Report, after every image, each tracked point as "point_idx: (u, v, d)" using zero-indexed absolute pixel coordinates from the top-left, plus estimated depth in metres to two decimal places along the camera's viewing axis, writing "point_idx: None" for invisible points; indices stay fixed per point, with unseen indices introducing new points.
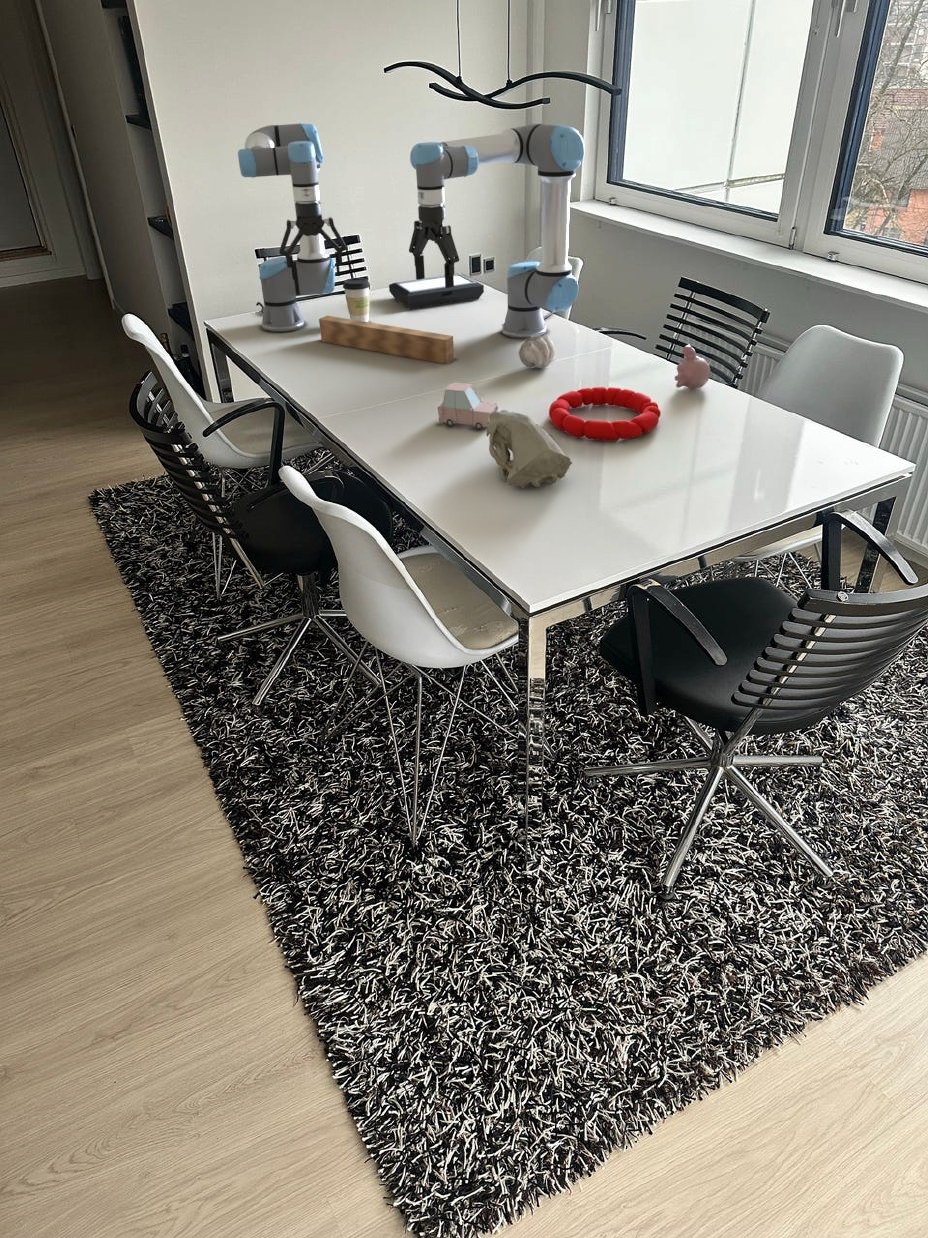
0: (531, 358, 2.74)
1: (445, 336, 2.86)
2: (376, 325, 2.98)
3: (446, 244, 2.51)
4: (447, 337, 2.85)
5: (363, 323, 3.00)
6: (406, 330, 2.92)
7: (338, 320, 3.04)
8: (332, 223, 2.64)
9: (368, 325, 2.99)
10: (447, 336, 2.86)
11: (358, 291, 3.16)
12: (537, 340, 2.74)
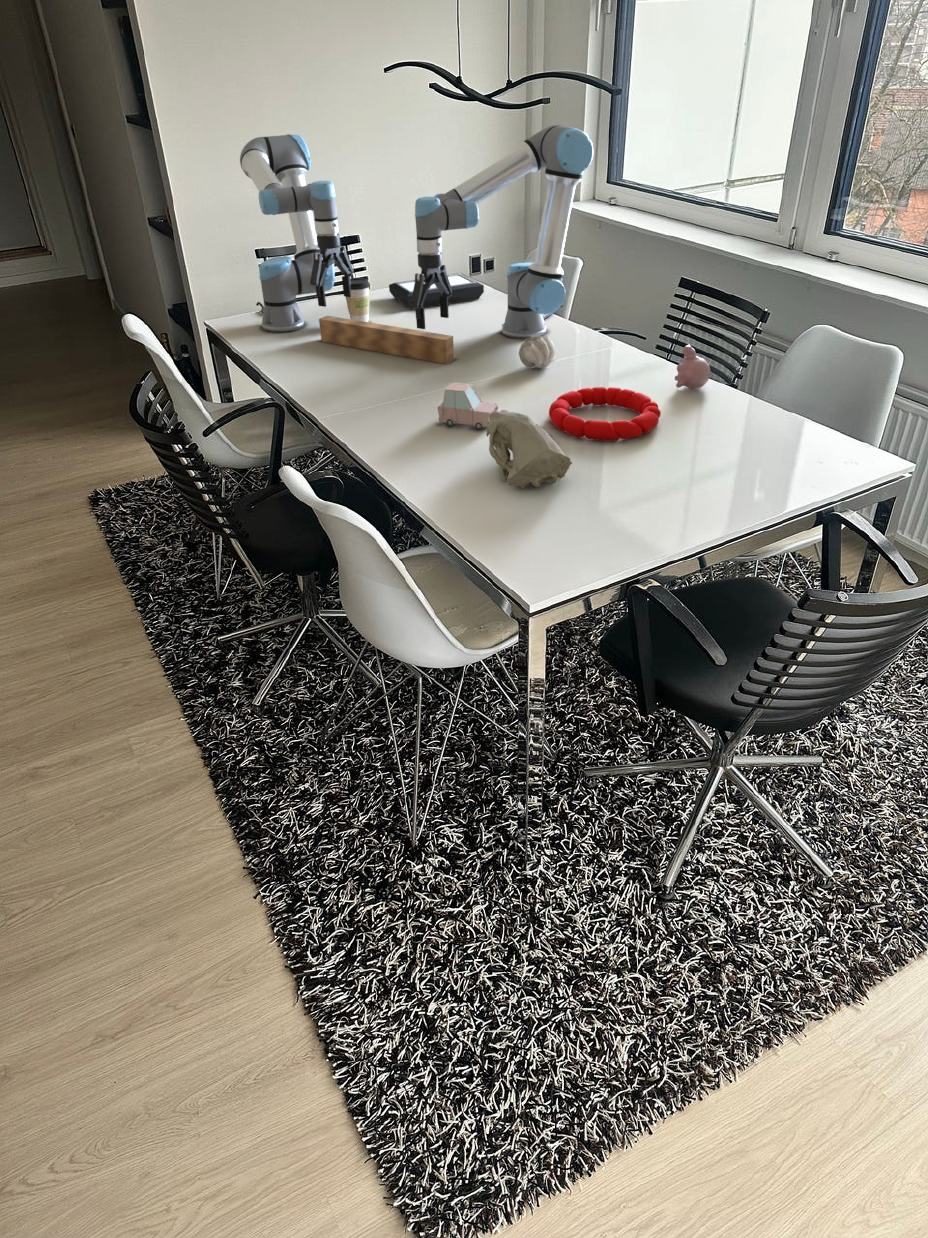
0: (531, 358, 2.74)
1: (445, 336, 2.86)
2: (376, 325, 2.98)
3: (447, 279, 2.83)
4: (447, 337, 2.85)
5: (363, 323, 3.00)
6: (406, 330, 2.92)
7: (338, 320, 3.04)
8: (345, 250, 2.97)
9: (368, 325, 2.99)
10: (447, 336, 2.86)
11: (358, 291, 3.16)
12: (537, 340, 2.74)
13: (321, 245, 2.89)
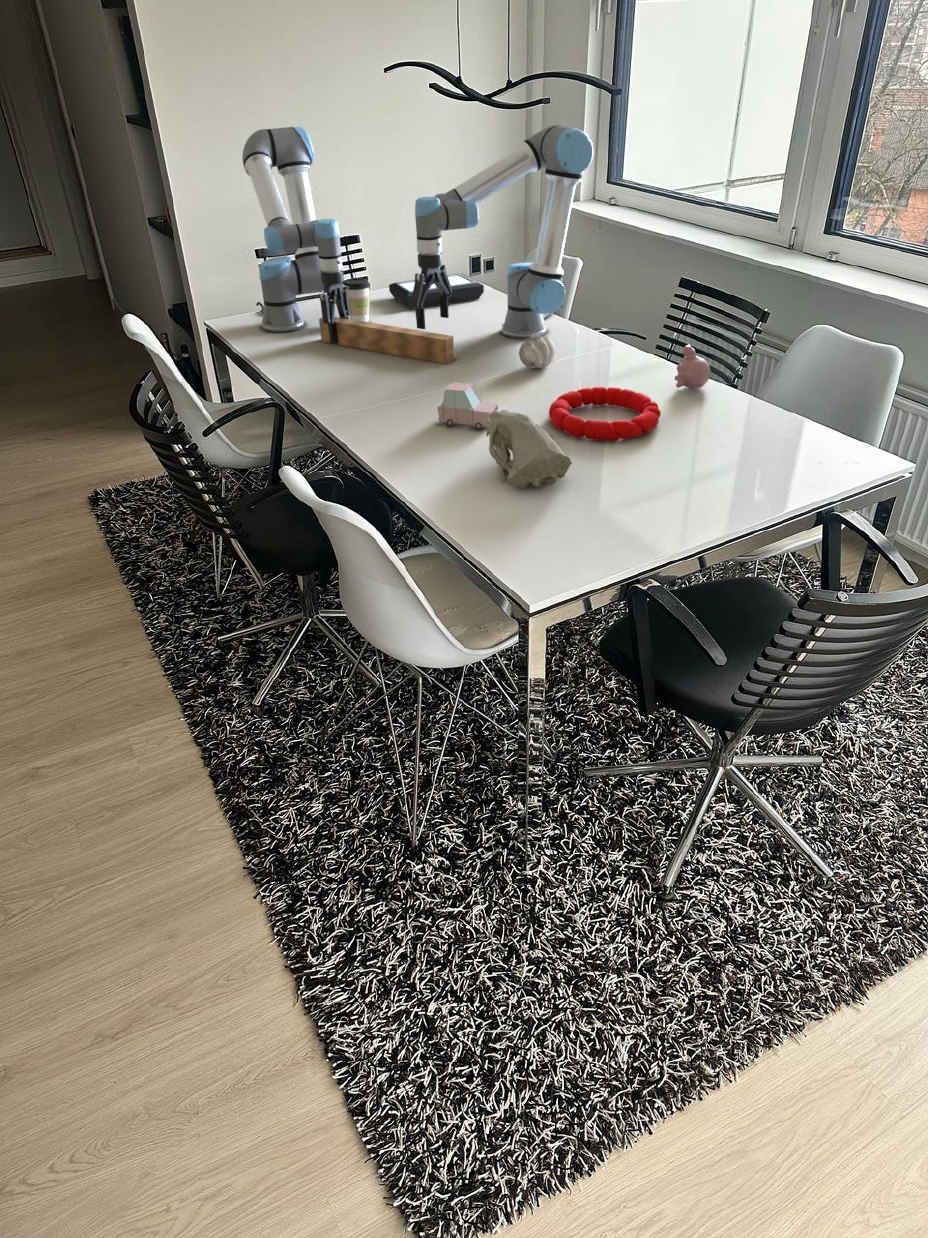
0: (531, 358, 2.74)
1: (445, 336, 2.86)
2: (376, 325, 2.98)
3: (447, 279, 2.83)
4: (447, 337, 2.85)
5: (363, 323, 3.00)
6: (406, 330, 2.92)
7: (338, 320, 3.04)
8: (347, 290, 3.04)
9: (368, 325, 2.99)
10: (447, 336, 2.86)
11: (358, 291, 3.16)
12: (537, 340, 2.74)
13: (325, 281, 2.95)
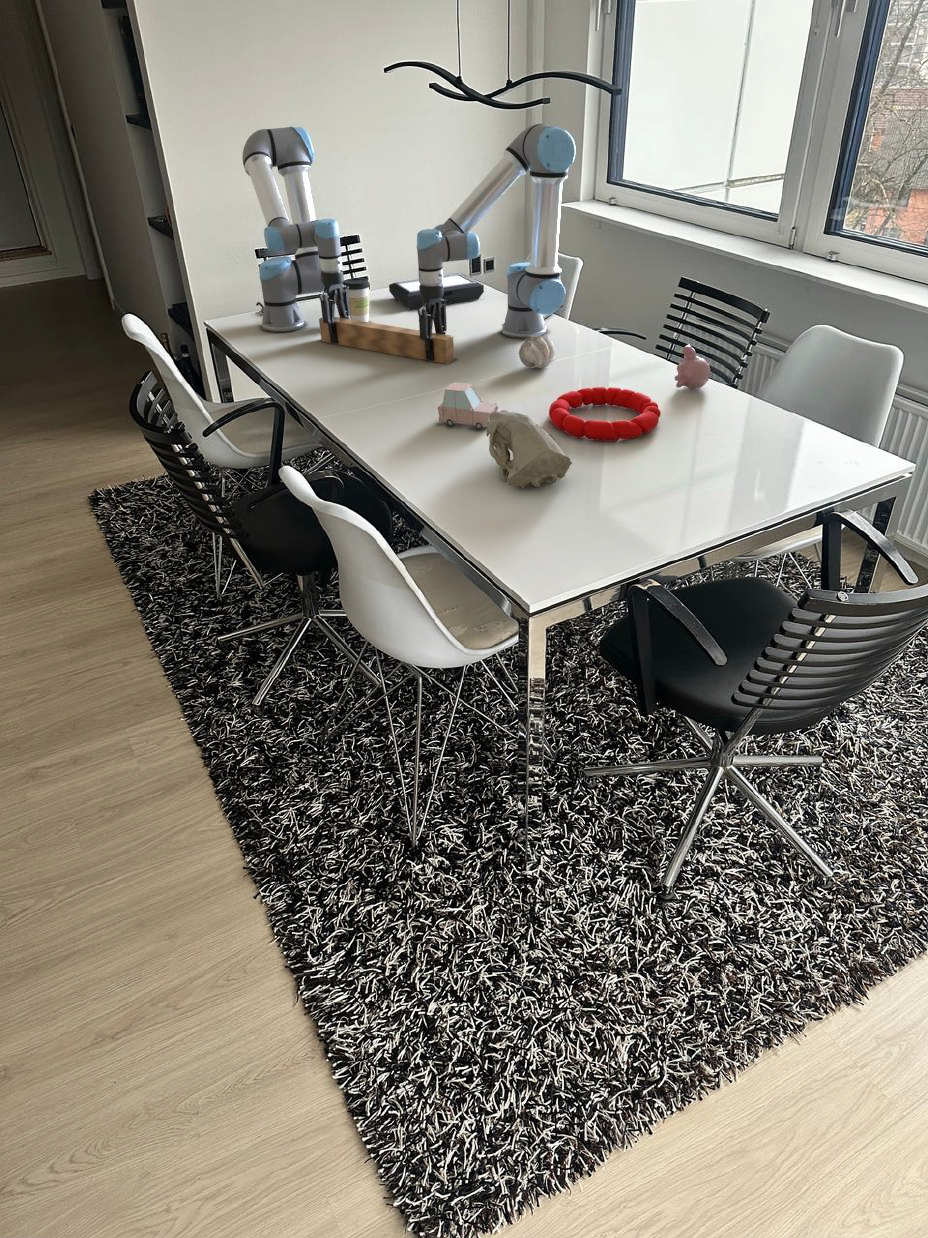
0: (531, 358, 2.74)
1: (445, 336, 2.86)
2: (376, 325, 2.98)
3: (445, 315, 2.88)
4: (447, 337, 2.85)
5: (363, 323, 3.00)
6: (406, 330, 2.92)
7: (338, 320, 3.04)
8: (347, 290, 3.04)
9: (368, 325, 2.99)
10: (447, 336, 2.86)
11: (358, 291, 3.16)
12: (537, 340, 2.74)
13: (325, 281, 2.95)
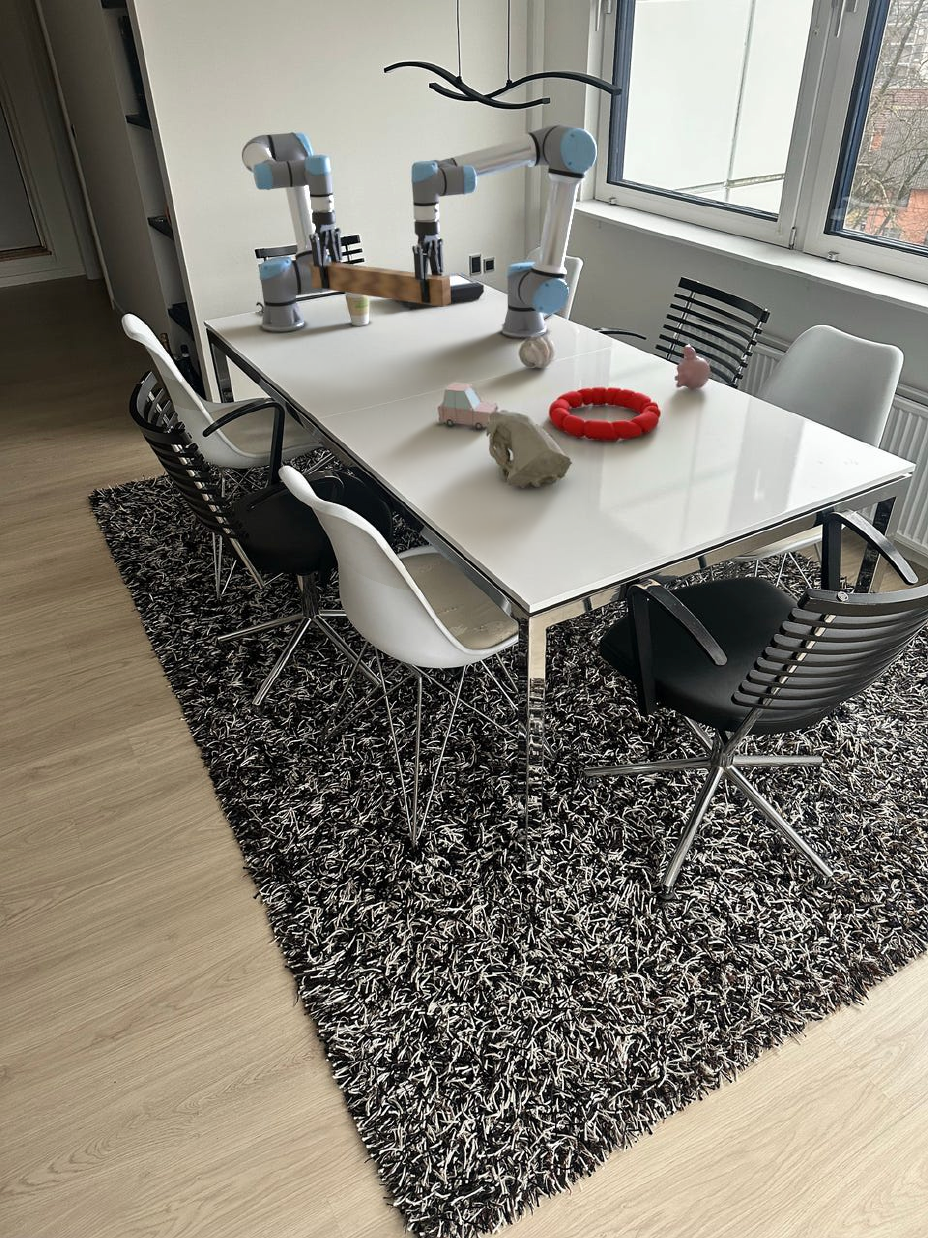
0: (531, 358, 2.74)
1: (442, 277, 2.73)
2: (369, 268, 2.84)
3: (441, 255, 2.74)
4: (444, 278, 2.72)
5: (356, 266, 2.87)
6: (400, 272, 2.79)
7: (330, 264, 2.91)
8: (339, 233, 2.91)
9: (361, 268, 2.85)
10: (444, 277, 2.73)
11: None
12: (537, 340, 2.74)
13: (316, 221, 2.82)
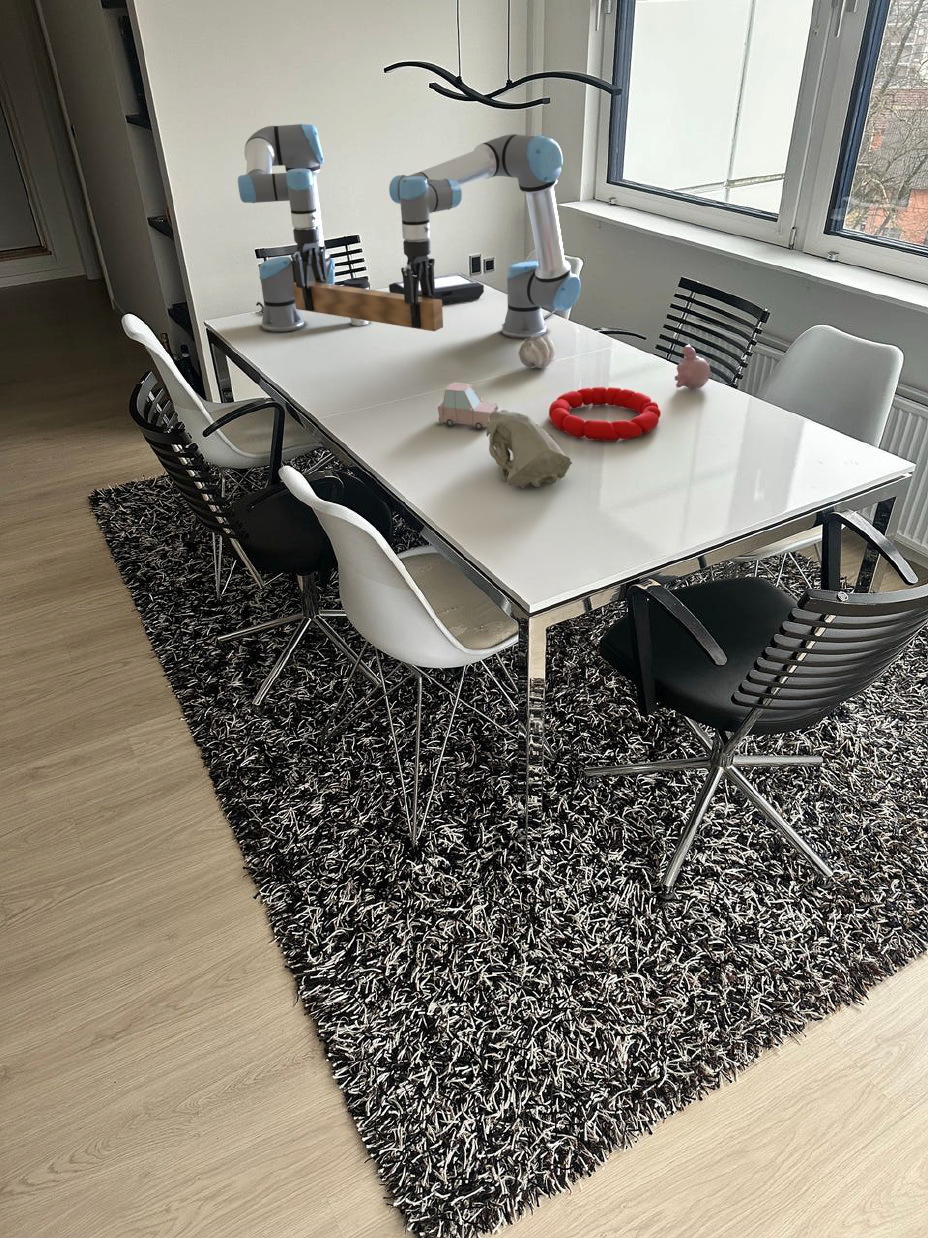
0: (531, 358, 2.74)
1: (433, 299, 2.54)
2: (355, 289, 2.65)
3: (433, 276, 2.55)
4: (435, 301, 2.52)
5: (342, 287, 2.68)
6: (389, 294, 2.60)
7: (314, 284, 2.72)
8: (324, 251, 2.71)
9: (347, 289, 2.66)
10: (435, 300, 2.53)
11: None
12: (537, 340, 2.74)
13: (298, 240, 2.62)
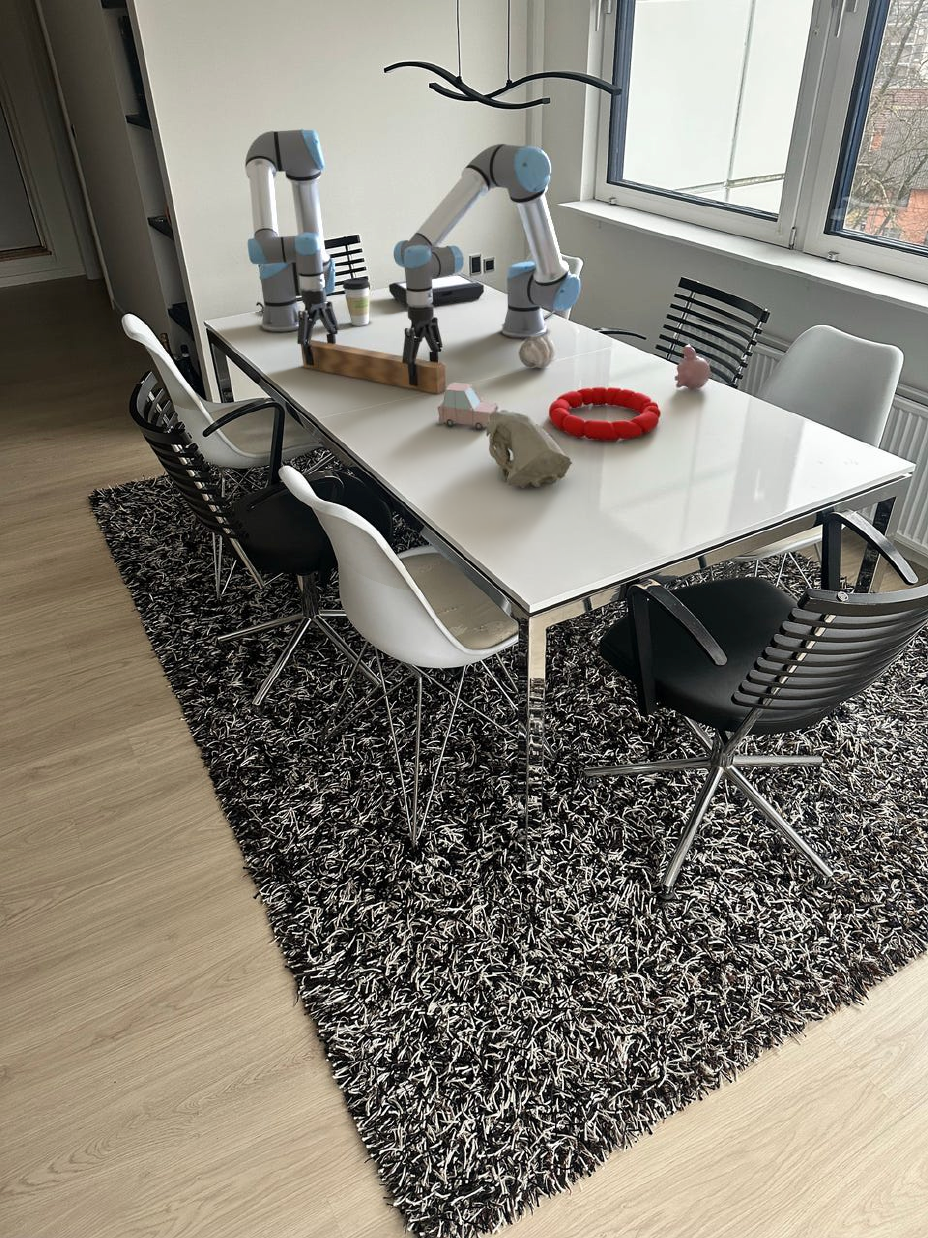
0: (531, 358, 2.74)
1: (436, 363, 2.64)
2: (361, 351, 2.76)
3: (438, 332, 2.65)
4: (438, 365, 2.63)
5: (348, 348, 2.78)
6: (394, 357, 2.70)
7: (321, 345, 2.82)
8: (331, 306, 2.81)
9: (353, 350, 2.77)
10: (438, 364, 2.64)
11: (358, 291, 3.16)
12: (537, 340, 2.74)
13: (306, 301, 2.72)
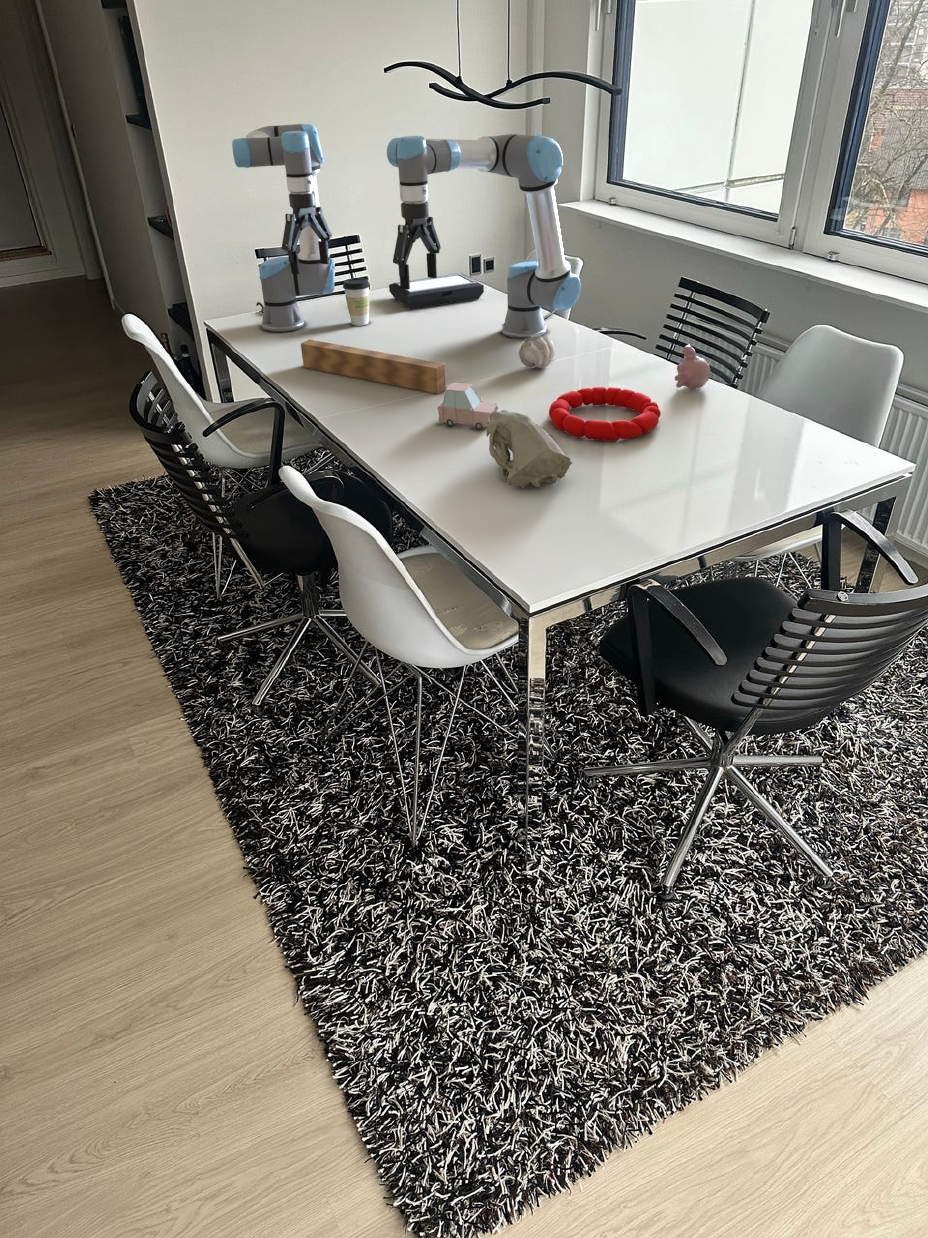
0: (531, 358, 2.74)
1: (436, 363, 2.64)
2: (361, 351, 2.76)
3: (435, 233, 2.50)
4: (438, 365, 2.63)
5: (348, 348, 2.78)
6: (394, 357, 2.70)
7: (321, 345, 2.82)
8: (321, 211, 2.66)
9: (353, 350, 2.77)
10: (438, 364, 2.64)
11: (358, 291, 3.16)
12: (537, 340, 2.74)
13: (294, 204, 2.57)
